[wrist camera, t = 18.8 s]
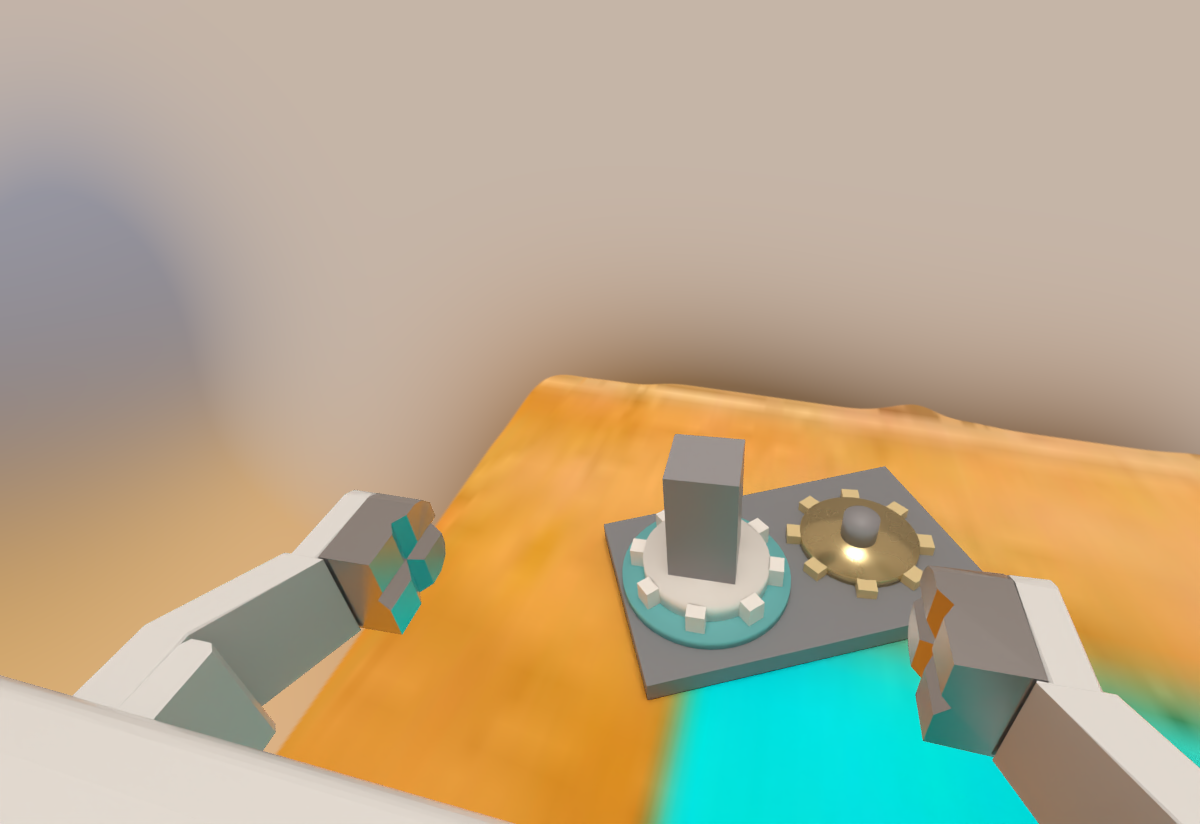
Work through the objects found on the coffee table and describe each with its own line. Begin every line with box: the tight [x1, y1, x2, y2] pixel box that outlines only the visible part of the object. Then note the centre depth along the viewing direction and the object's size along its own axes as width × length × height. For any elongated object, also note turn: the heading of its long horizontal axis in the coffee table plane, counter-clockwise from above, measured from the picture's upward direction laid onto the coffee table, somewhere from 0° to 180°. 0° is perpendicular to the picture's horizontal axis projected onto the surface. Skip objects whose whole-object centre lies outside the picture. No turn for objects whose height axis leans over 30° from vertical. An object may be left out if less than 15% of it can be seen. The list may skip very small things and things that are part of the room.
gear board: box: [604, 467, 982, 700], centre depth 42 cm, size 24×14×4 cm, turn 100°
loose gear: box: [630, 434, 784, 634], centre depth 39 cm, size 10×10×10 cm
